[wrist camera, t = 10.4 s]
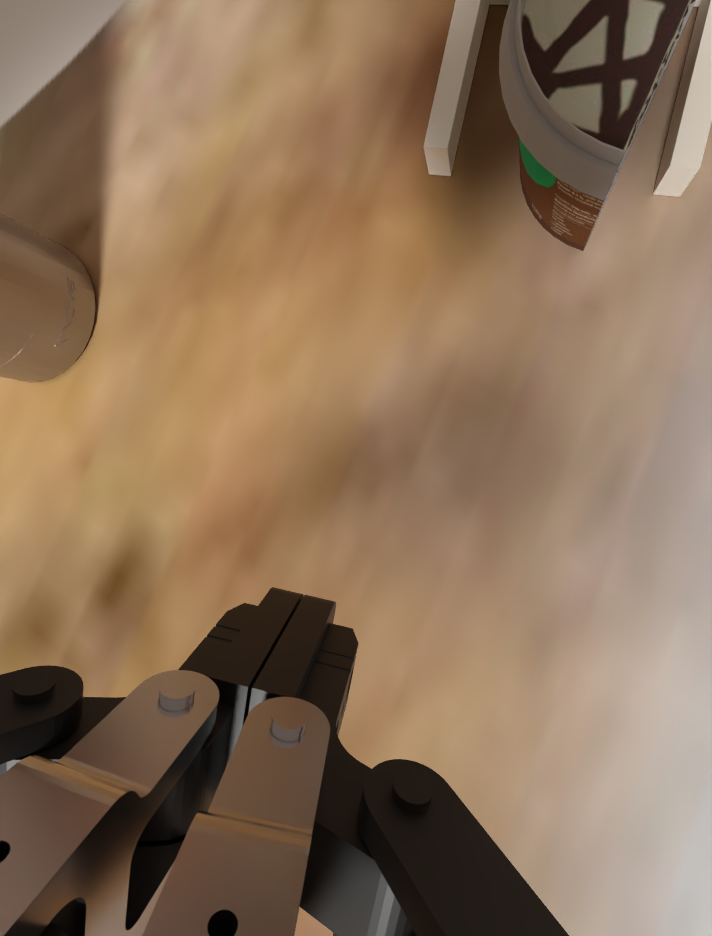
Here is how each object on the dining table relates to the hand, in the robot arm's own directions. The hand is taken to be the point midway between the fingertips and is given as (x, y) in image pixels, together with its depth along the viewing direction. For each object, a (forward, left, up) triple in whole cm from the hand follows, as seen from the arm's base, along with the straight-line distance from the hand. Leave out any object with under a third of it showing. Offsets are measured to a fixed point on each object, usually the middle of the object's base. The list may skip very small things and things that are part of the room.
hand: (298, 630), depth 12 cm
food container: (+3, +21, -17) cm, 28 cm away
